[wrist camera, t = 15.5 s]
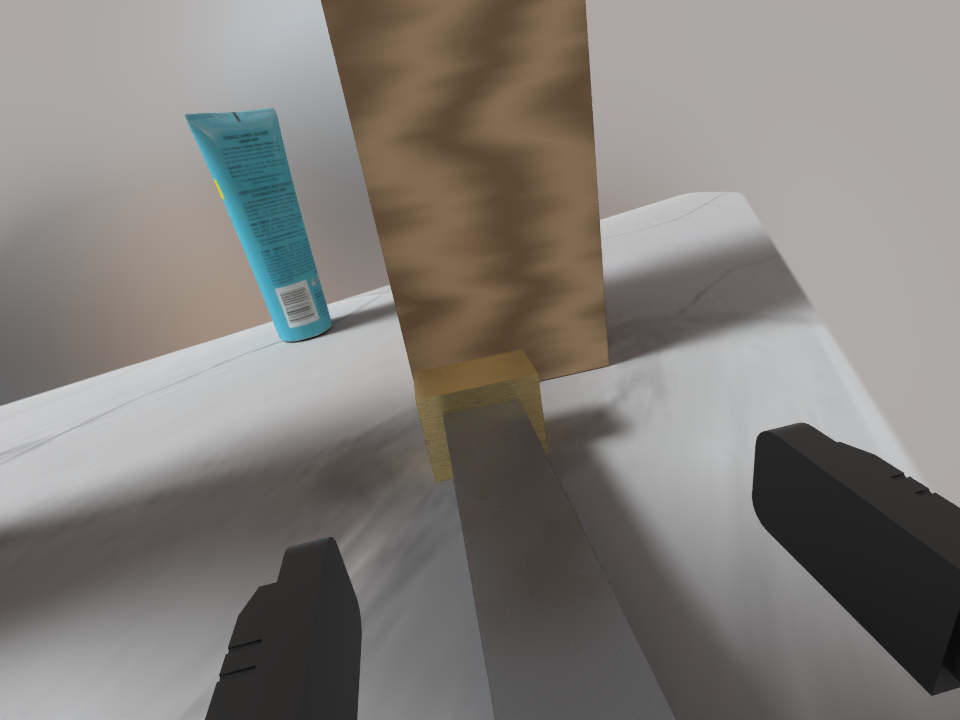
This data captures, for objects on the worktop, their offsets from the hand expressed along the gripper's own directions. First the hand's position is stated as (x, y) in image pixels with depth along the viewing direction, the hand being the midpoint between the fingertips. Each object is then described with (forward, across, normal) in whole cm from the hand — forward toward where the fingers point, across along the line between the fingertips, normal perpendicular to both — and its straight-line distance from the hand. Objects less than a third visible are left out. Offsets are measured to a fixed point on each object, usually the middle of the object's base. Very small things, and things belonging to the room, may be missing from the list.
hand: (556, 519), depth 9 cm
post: (+27, -3, +8) cm, 28 cm away
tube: (+40, +13, +8) cm, 43 cm away
